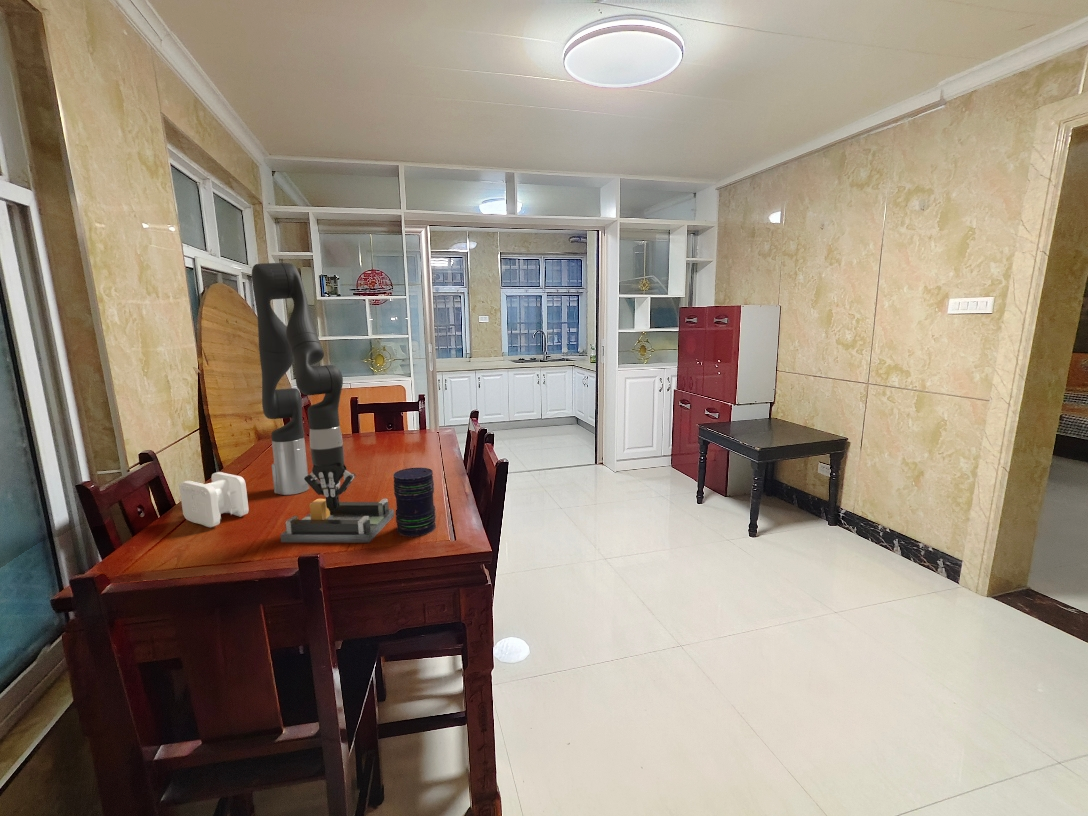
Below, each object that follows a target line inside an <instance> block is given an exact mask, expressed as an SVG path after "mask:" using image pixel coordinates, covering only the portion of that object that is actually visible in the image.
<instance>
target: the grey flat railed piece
mask: <svg viewBox="0 0 1088 816" xmlns="http://www.w3.org/2000/svg"><path fill="white" fill-rule="evenodd" d="M339 503H340V505H339V507H338V509H336V510H335V511H330V515H333V518H332V519H330V520H311V515H310V513H308V514H307V515H306V516H304V517H303V518H300V519H299V515H293V516H292V517H290V518H288V519H287V520H286V521H285V531H283V532H282V533H281V534H280V543H324V544H325V543H329V544H330V543H335V544H336V543H341V544H342V543H345V544H346V543H349V544H352V543H357V544H359V543H360V544H363V543H365V544H367V543H371V542H372V540H373V539H374V538H375V537H376V536H378V534H379V533H380V532H381V531H382V530H383V529H384V527H385V526H387V524H388V523H390V521H391V520H392V519H393V518H394V517H395V511H394V508H389V507H390V505H389V500H388V498H382V499H381V500H380V501H339Z"/></svg>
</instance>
